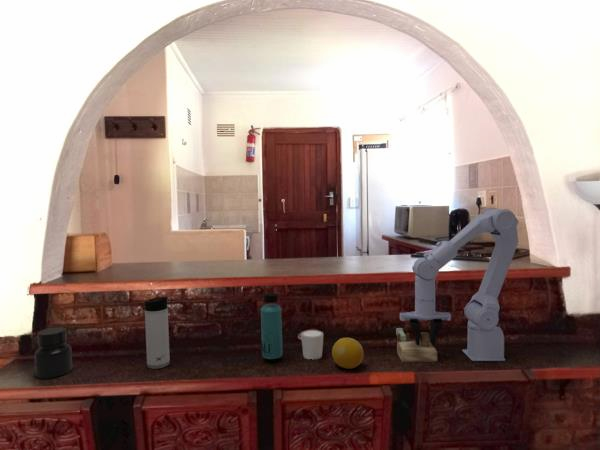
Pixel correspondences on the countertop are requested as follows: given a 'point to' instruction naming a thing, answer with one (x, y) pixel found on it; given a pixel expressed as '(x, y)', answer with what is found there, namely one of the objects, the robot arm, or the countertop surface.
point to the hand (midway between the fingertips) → (425, 344)
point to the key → (401, 334)
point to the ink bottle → (53, 353)
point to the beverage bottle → (271, 328)
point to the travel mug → (157, 332)
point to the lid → (423, 346)
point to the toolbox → (415, 353)
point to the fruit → (347, 353)
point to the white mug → (312, 344)
